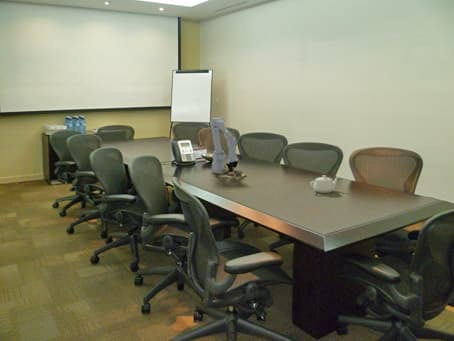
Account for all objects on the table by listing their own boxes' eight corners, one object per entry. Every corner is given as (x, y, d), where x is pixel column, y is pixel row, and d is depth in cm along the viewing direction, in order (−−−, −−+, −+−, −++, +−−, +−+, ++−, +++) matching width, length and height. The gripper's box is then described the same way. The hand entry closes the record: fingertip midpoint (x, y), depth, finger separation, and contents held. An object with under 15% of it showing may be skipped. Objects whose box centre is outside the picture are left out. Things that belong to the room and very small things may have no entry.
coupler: (228, 175, 312) (228, 167, 311) (231, 174, 316) (231, 166, 314) (233, 175, 310) (233, 168, 309) (236, 174, 313) (236, 167, 312)
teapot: (316, 195, 257) (316, 178, 255) (304, 190, 270) (305, 174, 268) (344, 192, 265) (345, 175, 263) (332, 187, 278) (333, 172, 275)
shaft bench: (218, 177, 312) (218, 170, 310) (227, 173, 323) (227, 167, 322) (237, 179, 303) (237, 172, 302) (246, 176, 315) (246, 169, 314)
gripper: (232, 155, 302) (232, 173, 304) (241, 153, 314) (241, 170, 317) (224, 155, 305) (224, 172, 308) (233, 152, 317) (233, 169, 320)
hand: (232, 171), depth 312 cm, fingers open, 5 cm apart
